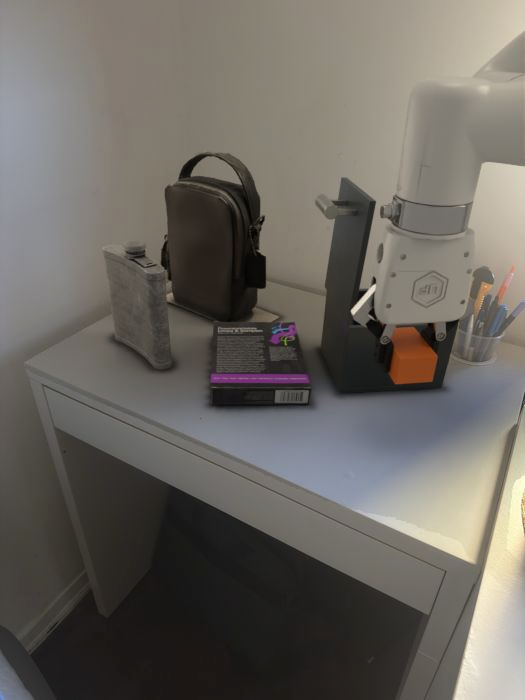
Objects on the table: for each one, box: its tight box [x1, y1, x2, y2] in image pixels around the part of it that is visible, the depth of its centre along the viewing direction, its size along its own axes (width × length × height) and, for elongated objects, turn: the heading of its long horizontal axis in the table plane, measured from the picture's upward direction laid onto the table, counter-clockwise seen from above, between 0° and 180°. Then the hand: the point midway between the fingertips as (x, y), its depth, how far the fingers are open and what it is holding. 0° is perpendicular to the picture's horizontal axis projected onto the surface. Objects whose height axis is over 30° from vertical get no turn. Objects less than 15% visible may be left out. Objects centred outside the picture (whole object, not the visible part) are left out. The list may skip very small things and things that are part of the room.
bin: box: [320, 288, 459, 394], centre depth 76 cm, size 16×13×11 cm
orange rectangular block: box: [388, 327, 438, 384], centre depth 59 cm, size 7×4×4 cm, turn 7°
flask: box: [102, 239, 173, 371], centre depth 77 cm, size 4×14×18 cm, turn 44°
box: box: [209, 320, 312, 405], centre depth 77 cm, size 14×4×20 cm
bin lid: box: [314, 176, 377, 325], centre depth 67 cm, size 16×13×5 cm
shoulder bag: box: [159, 150, 280, 322], centre depth 88 cm, size 23×9×28 cm, turn 53°
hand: (403, 364), depth 60 cm, fingers closed on orange rectangular block, 4 cm apart
